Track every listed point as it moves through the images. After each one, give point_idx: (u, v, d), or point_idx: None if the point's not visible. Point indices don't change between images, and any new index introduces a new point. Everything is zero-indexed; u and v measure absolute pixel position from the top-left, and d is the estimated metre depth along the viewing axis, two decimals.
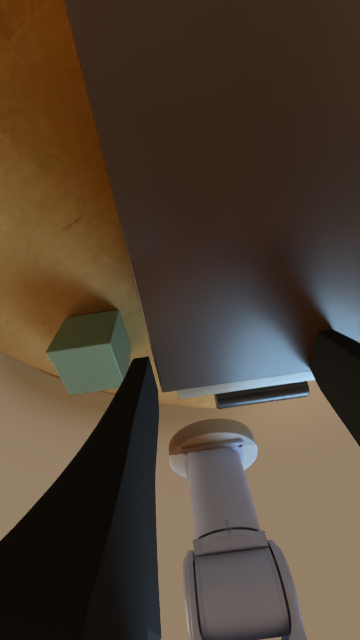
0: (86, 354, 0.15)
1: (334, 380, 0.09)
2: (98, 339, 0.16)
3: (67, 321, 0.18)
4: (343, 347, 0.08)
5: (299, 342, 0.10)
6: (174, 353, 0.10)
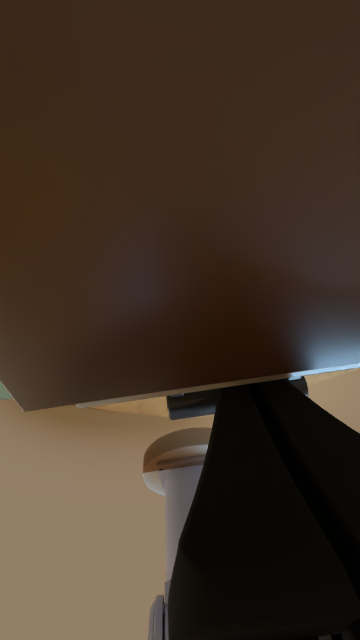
0: None
1: None
2: None
3: None
4: None
5: (280, 309, 0.05)
6: (10, 332, 0.05)
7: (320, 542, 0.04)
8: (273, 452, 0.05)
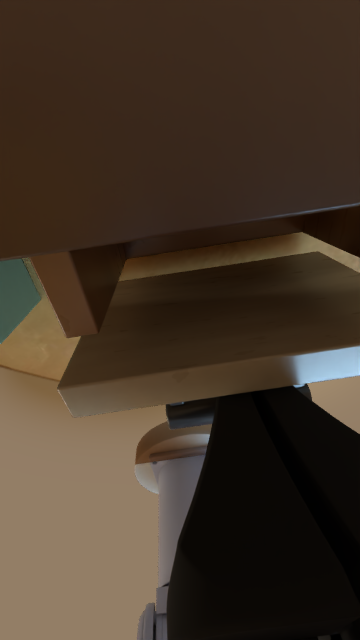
0: None
1: None
2: None
3: None
4: None
5: (313, 38, 0.03)
6: None
7: (319, 543, 0.04)
8: (272, 452, 0.05)
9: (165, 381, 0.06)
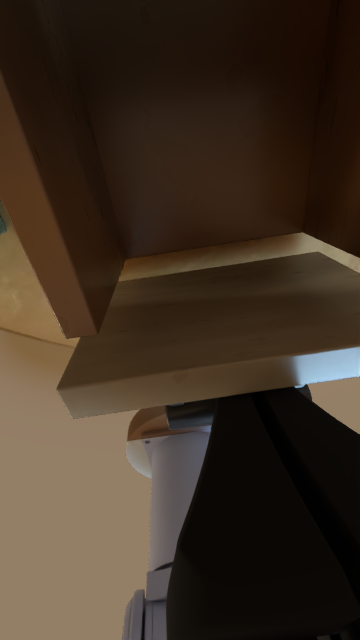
0: None
1: None
2: None
3: None
4: None
5: None
6: None
7: (318, 542, 0.04)
8: (272, 452, 0.05)
9: (165, 382, 0.06)
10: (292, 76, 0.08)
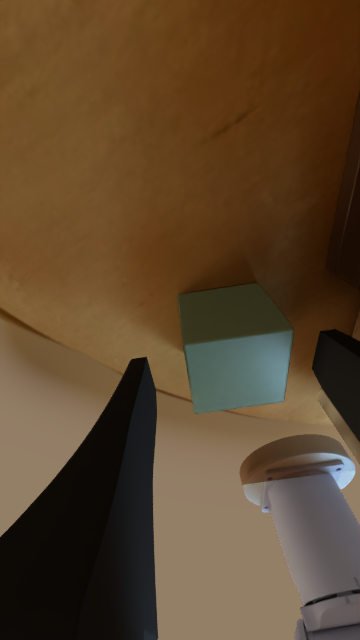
0: (249, 348, 0.09)
1: (336, 380, 0.09)
2: (266, 323, 0.09)
3: (186, 299, 0.12)
4: (346, 347, 0.08)
5: None
6: None
7: (81, 574, 0.04)
8: (114, 474, 0.05)
9: None
10: None
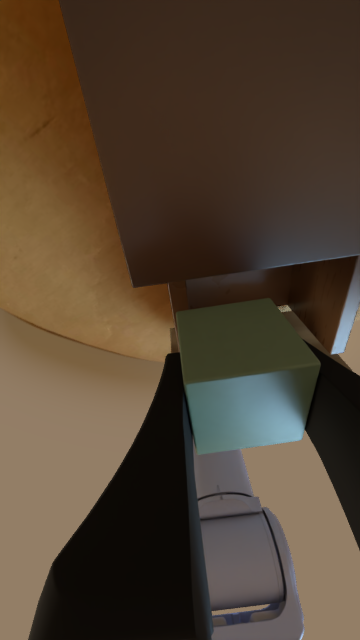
0: (264, 386, 0.07)
1: None
2: (285, 354, 0.08)
3: (186, 318, 0.10)
4: None
5: (291, 215, 0.08)
6: (142, 225, 0.08)
7: (181, 561, 0.04)
8: (181, 465, 0.05)
9: None
10: None
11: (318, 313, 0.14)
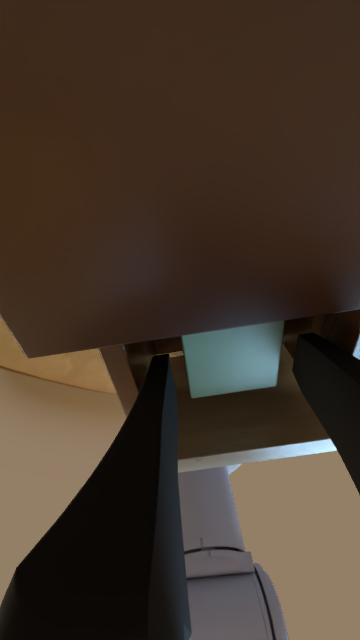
0: (242, 334, 0.10)
1: (312, 383, 0.09)
2: None
3: None
4: (320, 350, 0.08)
5: (265, 253, 0.05)
6: (16, 272, 0.05)
7: (141, 566, 0.04)
8: (154, 469, 0.05)
9: (190, 461, 0.11)
10: None
11: None
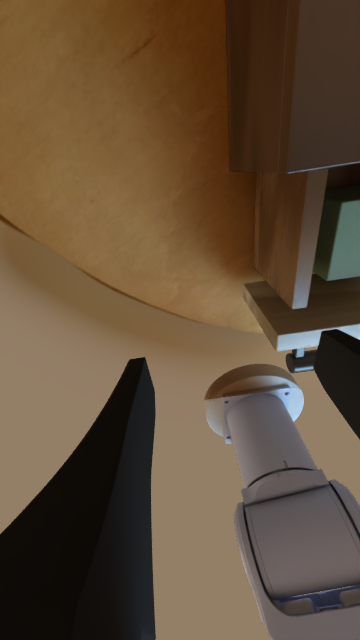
0: None
1: (337, 380, 0.09)
2: None
3: None
4: (347, 346, 0.08)
5: None
6: (322, 83, 0.07)
7: (76, 575, 0.04)
8: (111, 475, 0.05)
9: None
10: None
11: None
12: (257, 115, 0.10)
